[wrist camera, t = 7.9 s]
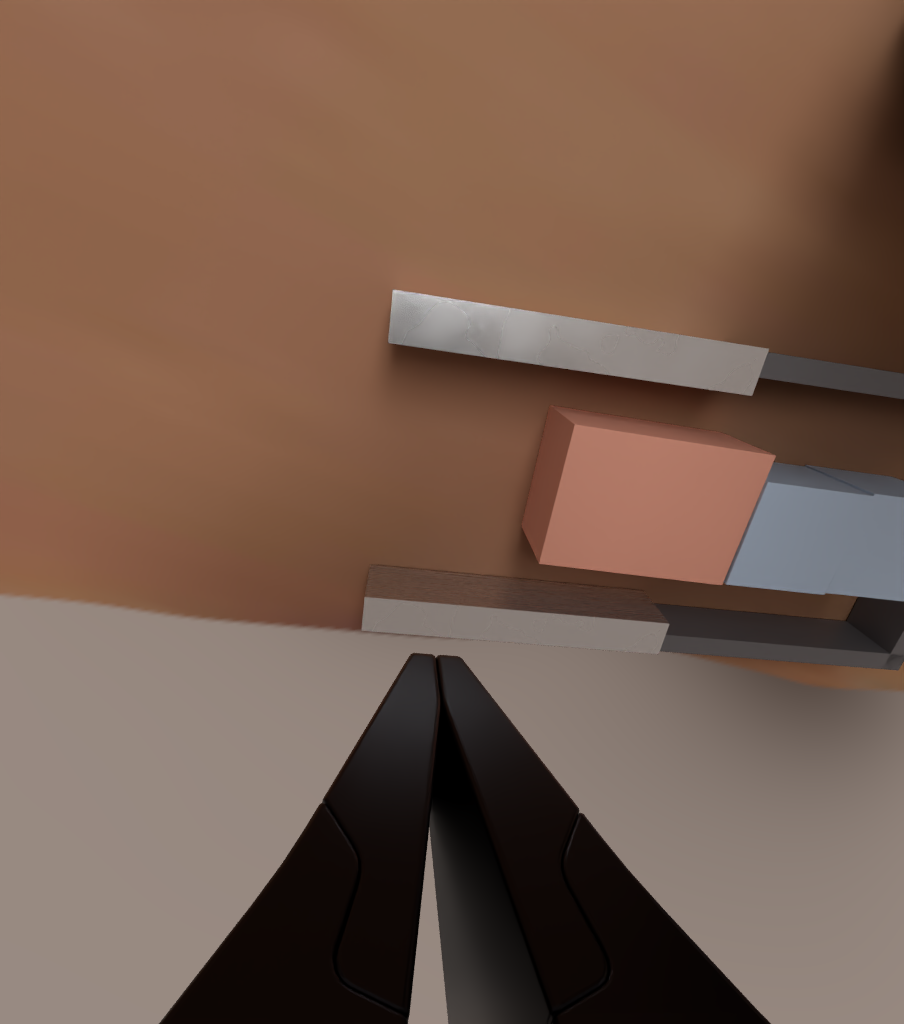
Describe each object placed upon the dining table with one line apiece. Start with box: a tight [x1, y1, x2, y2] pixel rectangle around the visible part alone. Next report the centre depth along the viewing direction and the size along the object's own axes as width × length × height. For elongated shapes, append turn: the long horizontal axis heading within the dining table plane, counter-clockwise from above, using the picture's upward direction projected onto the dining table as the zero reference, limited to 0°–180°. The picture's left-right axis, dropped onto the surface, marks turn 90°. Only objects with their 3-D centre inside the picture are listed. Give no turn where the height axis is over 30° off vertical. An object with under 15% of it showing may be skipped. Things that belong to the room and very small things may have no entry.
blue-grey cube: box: [805, 465, 904, 601], centre depth 20 cm, size 4×4×4 cm
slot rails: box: [362, 290, 769, 654], centre depth 19 cm, size 12×12×2 cm
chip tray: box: [655, 352, 904, 670], centre depth 20 cm, size 11×12×2 cm
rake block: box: [521, 405, 776, 585], centre depth 19 cm, size 7×5×4 cm
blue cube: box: [724, 462, 874, 595], centre depth 20 cm, size 4×4×4 cm
